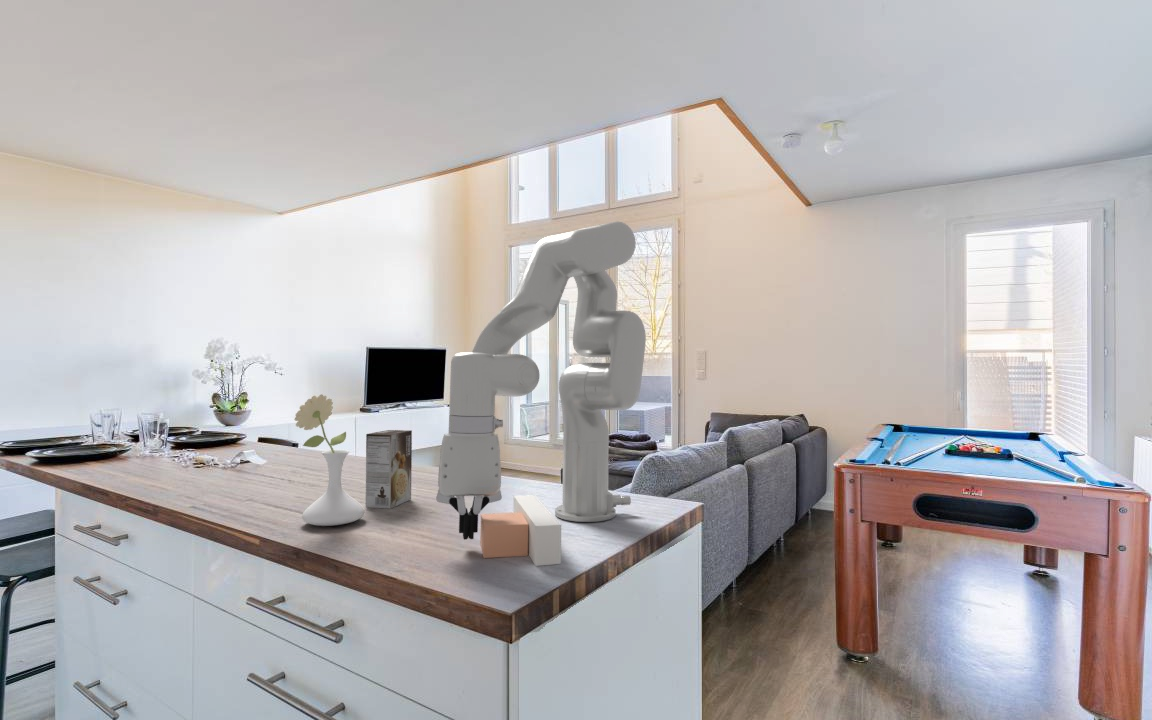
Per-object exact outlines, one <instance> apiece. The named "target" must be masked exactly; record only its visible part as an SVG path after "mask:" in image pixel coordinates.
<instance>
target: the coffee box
mask: <svg viewBox="0 0 1152 720" xmlns="http://www.w3.org/2000/svg"><path fill="white" fill-rule="evenodd" d="M412 433H413V430H407V429H406V430H403V429H402V430H401V429H387V430H382V431H381V430H380V431H376V432H371V433H367V434H365V435H366V436H365V437H366V439H365V440H366V441H365V443H366V444H365V445H366V446H365V508H371V509H373V508H375V509H389V510H390V509H393V508H396V507H397V506H400V505H402V504H405V503H406V502H409V501H411V500H412V468H413V467H412V466H413V465H412V457H413V456H412V452H413V451H412V450H413V449H412V448H413V446H412V445H413V441H412V439H413V434H412Z"/></svg>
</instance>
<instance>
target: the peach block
mask: <svg viewBox="0 0 1152 720" xmlns="http://www.w3.org/2000/svg"><path fill="white" fill-rule="evenodd" d="M479 531H480V534H479V535H480V540H479V542H480V543H479V544H480V548H481V552H482V556H483V559H489V558H505V557H506V558H507V557H509V558H510V557H523V556H524V557H525V556H528V555H529V554H528V523H527V521H526V519H525V518H524V516H523V514H522V513H521V512H519V513H513V512H497V513H481V514H480V530H479Z"/></svg>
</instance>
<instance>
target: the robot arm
mask: <svg viewBox="0 0 1152 720" xmlns="http://www.w3.org/2000/svg"><path fill="white" fill-rule="evenodd" d="M636 245H637V243H636V236H635V233H634V232H633V230H632V228H631V227H630V226H629V225H628V224H627V223H624V222H622V221H611V222H607V223H602V224H598V225H593V226H588V227H583V228H578V229H575V230H572V231H568V232H563V233H557V234H553V235H548V236H546V237H543V238H541V239H540V240H538V242H537V243H536V244H535V246H534V247H533V249H532V251H531V254H530V255H529V259H528V261H527V263H526V266H525V268H524V271H523V274H522V276H521V278H520V280H519V283H518V285H517V286H516V287H517V288H516V290H515V292H514V294H513V297H512V298H511V300H510V301H509V302H508V303H507V304H506V305H504V307H502V308H501V310H499V312H498V313H496V315H495V316H494V317H493V318H492V319H491V320H490V322H488V324H487V325H486V326H484V328H483V330H482V331H481V333H480V334H479V336H478V338H477V339H476V342H475V344H474V347H473V349H472V350H471V352H470V351H469V352H466V351H465V352H464V351H463V352H458V353H455V354H454V355H453V356H452V358H451V360H450V379H449V380H450V381H449V382H450V383H449V409H448V411H449V413H448V433H444V434H443V437H442V442H441V447H440V452H439V453H440V455H439V464H438V465H439V466H438V479H437V480H438V481H437V483H438V489H437V493H436V496H435V497H436V502H437V503H441V504H446V505H451V507H452V508H453V509H454V510H455V511H456V512H458V514H459V520H458V521H459V522H458V533H459V534H462V539H463V540H468V539H470V540H474V537H475V534H474V533H478V529H479V526H478V525H479V514H480V513H481V511H483V509H484V508H485V507H486V506H487V505H488V504H490V503H491V504H492V503H496V502H499V501H501V500H502V498H503V496H502V492H501V485H502V467H501V465H502V464H501V463H502V460H501V450H500V441H499V435H498V433H495V431H496V430H497V429H499V428H504V420H503V419H499V418H497V417H496V416H495V409H496V396H499V397H500V396H502V397H523V396H526V395H528V394H530V393H532V392H533V391H534V390H535V389H536V387H538V384H539V383H540V382H539V381H540V369H539V367H538V365H537V363H536V362H535V361H534V360H533V359H532V358H530V357H528V356H526V355H525V354H524V355H523V354H520V353H519V354H518V353H509V351H510V350H511V349H512V348H513V347H514V345H515V344H516V343H517V342H518V341H520V340H521V339H522V338H524V337H525V336H526V335H527V336H528V334H530V333H532V332H534V331H535V330H537V329H539V328H541V327H543V326H544V325H546V324H548V322H551V320H553V318H554V317H555V316H556V313H557V310H558V308H559V304H560V303H561V300H562V297H563V294H564V291H565V289H566V286H567V283H568V282H569V279H570V278H573V279H574V282H575V284H576V287H577V298H576V299H577V302H576V309H575V310H576V311H575V317H574V325H573V331H572V346H573V349H574V351H575V353H577V354H578V355H579V356H581V357H586V358H609V361H610V362H579V363H574V364H572V365H570V366H568V367H566V368H565V369H564V370H563V371H562V373H561V374H560V377H559V380H558V393H559V398H560V399H559V400H560V404H561V409H562V410H561V411H562V422H563V423H562V424H563V425H562V426H563V427H562V428H563V429H562V430H563V431H562V434H563V435H562V436H563V439H562V504H561V505H558V506H557V507H556V508H555V510H554V515H555V516H556V517H557V518H559V519H561V520H563V521H564V520H565V521H570V522H579V523H596V522H604V521H608V520H612V519H613V518H615V517H616V515H617V511H616V508H617V506H630V505H631V503H632V502H631V501H632V500H631V496H630V495H621V494H613V493H611V492H609V450H610V449H609V446H610V445H609V441H610V431H609V425H608V422H607V420H606V417H605V416H604V413H603V411H604V410H605V411H625V410H629V409H632V407H633V406H634V405H635V404H636V403H637V401H638V400H639V399H638V398H639V397H640V392H641V386H642V379H643V371H644V370H643V369H644V362H645V351H646V341H647V338H646V337H647V336H646V328H645V326H644V322H643V320H642V318H640V316H639V315H638V314H637V313H635V312H634V311H631V310H617V303H618V291H617V286H616V284H615V282H614V281H613V279H612V278H611V276H610V275H609V274H608V272H607V270H609V269H610V270H611V269H613V268H616V267H618V266H621V265H623V264H626V263H628V261H630V260H631V258H632V257H633V255H634V253H635V250H636ZM508 353H509V354H508ZM602 410H603V411H602ZM469 496H471V497H472V496H473V499H472V505H471V507H470V509H469V512H468V508H467V506H466V502H465V501H466V500H465V499H466V498H465V497H469Z"/></svg>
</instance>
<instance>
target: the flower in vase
mask: <svg viewBox="0 0 1152 720" xmlns="http://www.w3.org/2000/svg"><path fill="white" fill-rule="evenodd" d="M333 403H334V402H333V400H332V398H327V395H324V394H323V393H322V394H319V395H318V396H316V395H313V396H311V398H308V399H307V400H306V401H305V402H304V404H300V406H299V410H298V411H297V412H296V413H295V417H294V418H293V419H294V421H295V422H296V423H295V426H296V427H297V428H299V429H303V430H304V431H311V430H313V429H314V428H315V429H316V428H318V427H319V426H320V427H321V431H322V434H323V436H322V435H313V436H311V437H310V438H308V439H307V440H306V441H305V442H304V443H303V444H302V447H306V448H317V447H319V446H320V445H321V444H322V443H323V442H324V440H325V441H326V443H327V445H328V446H329V449H330V450H324V451H321V454H322V456H323V457H324V458H325V461H326V463H327V469H328V470H327V471H328V482H327V483H328V484H327V487H326V491H325V492H324V493H323V494H322V495H321V496H320V497H318V498H317V499H316V500H315V501H313V502H312V503H311V504H310V505H308V507H307V508H306V509H305V510H304V511H303V512H302V514H301V519H302V521H303V522H304V523H307V524H309V525H313V526H319V527H320V526H321V527H331V526H340V525H341V526H342V525H346V524H349V523H353V522H355V521H357V520H360V519H362V518H363V517H364V516H365V514H366V509H365V508H364V506H363V505H362V504H361V503H360V502H359V501H358V500H356V499H355V498H354V497H352V496H350V495H349V494H348V493H347V492H346V491H345V490H344V489H343V486H342V485H343V484H342V471H343V465H344V462H345V459H346V457H347V455H348V454H349V453H350V450H349V449H334V448H333V446H336V445H340V444H342V443H344V442H345V441H346V439H347V438H346V437H347V432H346V431H344V432H343V433H341V434H339V435H337V436H334V437H332V438H331V439H330V442H329V439H328V438H327V436H326V435H327V434H326V433H325V428H324V424H325V423H326V421H327V420H328V419H329V417H330V416H331V415H332V413H333V412H332V410H333V408H334V407H333Z"/></svg>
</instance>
